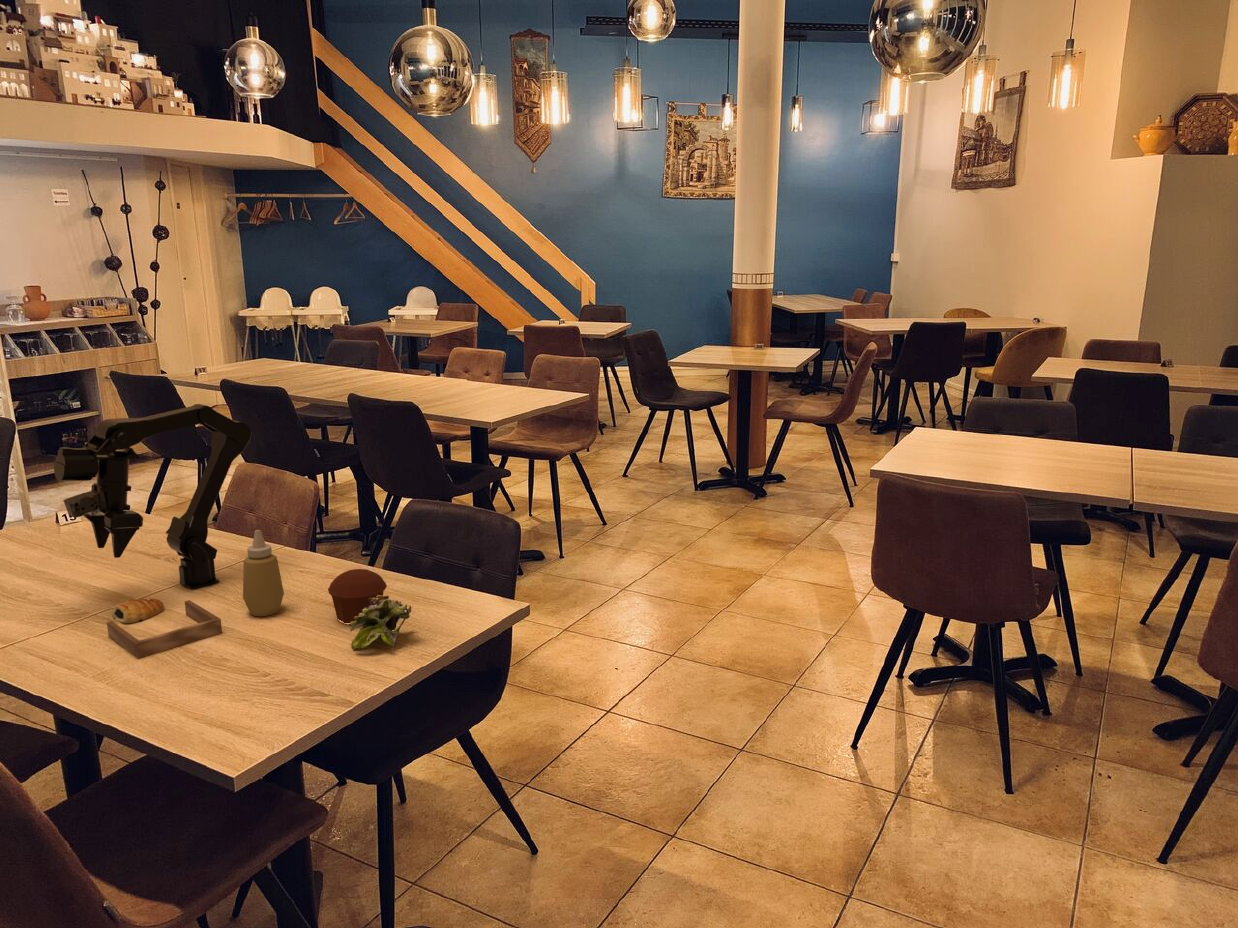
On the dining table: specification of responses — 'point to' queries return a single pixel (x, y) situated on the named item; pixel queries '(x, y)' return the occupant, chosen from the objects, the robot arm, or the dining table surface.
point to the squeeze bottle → (261, 579)
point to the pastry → (137, 610)
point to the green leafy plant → (379, 621)
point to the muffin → (355, 592)
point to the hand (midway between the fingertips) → (108, 552)
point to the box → (169, 633)
